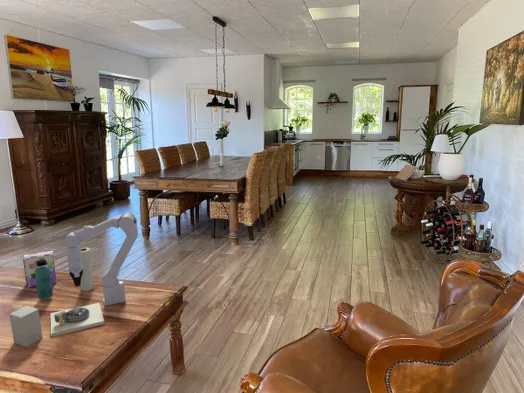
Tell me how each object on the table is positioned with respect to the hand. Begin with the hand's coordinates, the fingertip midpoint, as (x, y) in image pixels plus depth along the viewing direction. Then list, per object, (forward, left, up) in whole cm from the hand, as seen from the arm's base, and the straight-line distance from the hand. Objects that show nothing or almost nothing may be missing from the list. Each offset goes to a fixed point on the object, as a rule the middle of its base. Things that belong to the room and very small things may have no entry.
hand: (77, 285), depth 177 cm
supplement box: (+20, +22, -10) cm, 31 cm away
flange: (+4, +16, -8) cm, 18 cm away
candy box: (+16, -34, -10) cm, 39 cm away
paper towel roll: (-5, -16, -10) cm, 19 cm away
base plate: (+2, +15, -9) cm, 18 cm away
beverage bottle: (+14, -13, -10) cm, 21 cm away
